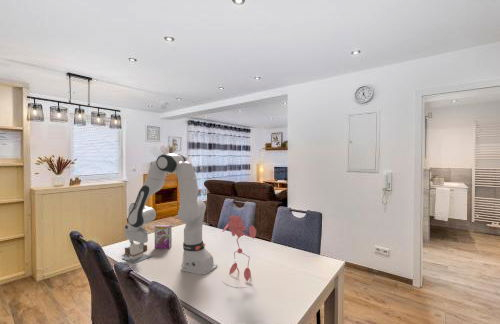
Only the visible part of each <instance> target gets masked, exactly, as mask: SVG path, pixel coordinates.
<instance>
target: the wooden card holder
mask: <svg viewBox="0 0 500 324" xmlns="http://www.w3.org/2000/svg"><path fill="white" fill-rule="evenodd" d="M146 251H148V245H147V244H145V243H144V244H143V253H144V252H146ZM124 254H126V255H127V256H129V255H130V246H127V247H124Z"/></svg>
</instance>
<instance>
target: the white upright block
mask: <svg viewBox="0 0 500 324" xmlns="http://www.w3.org/2000/svg"><path fill="white" fill-rule="evenodd" d="M139 246H140V242H136V243H134V244H131V243H130V244H129V247H130V259H133V260H134V259H137V258H139V257H142V256H143V254H144V252H143V248H142V249H139Z"/></svg>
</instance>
